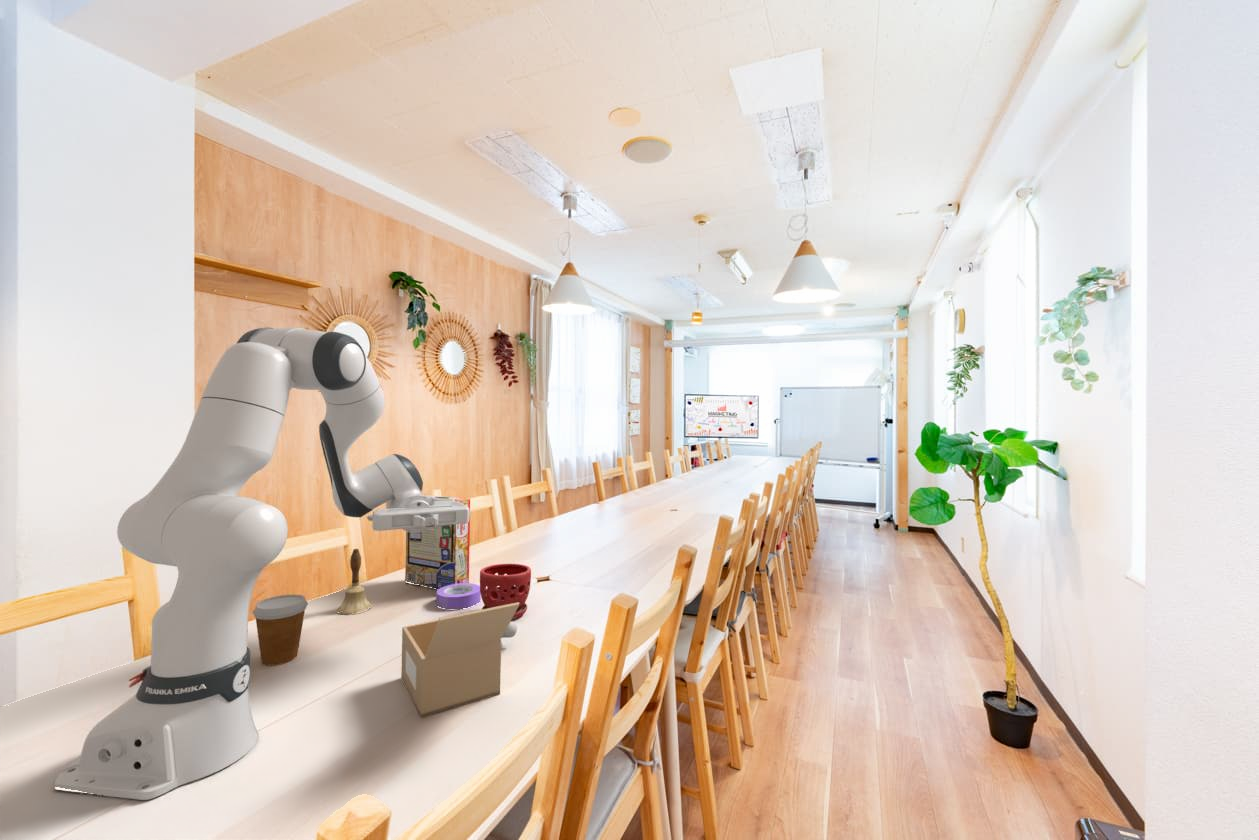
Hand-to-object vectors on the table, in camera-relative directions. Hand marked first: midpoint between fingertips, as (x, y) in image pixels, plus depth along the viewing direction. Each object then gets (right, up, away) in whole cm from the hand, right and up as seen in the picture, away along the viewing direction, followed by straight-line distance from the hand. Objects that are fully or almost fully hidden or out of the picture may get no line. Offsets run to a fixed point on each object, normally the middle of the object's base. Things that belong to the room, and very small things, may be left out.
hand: (430, 522), depth 107 cm
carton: (+8, -29, -10) cm, 32 cm away
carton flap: (+15, -14, -20) cm, 29 cm away
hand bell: (-31, -29, +27) cm, 50 cm away
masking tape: (-5, -29, +34) cm, 45 cm away
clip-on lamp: (+7, -29, +8) cm, 31 cm away
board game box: (-17, -29, +47) cm, 57 cm away
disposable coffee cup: (-31, -28, -1) cm, 42 cm away
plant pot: (+9, -29, +26) cm, 40 cm away
